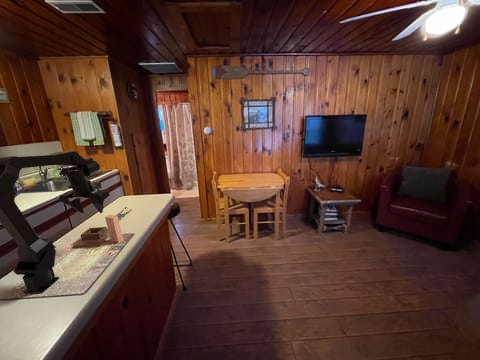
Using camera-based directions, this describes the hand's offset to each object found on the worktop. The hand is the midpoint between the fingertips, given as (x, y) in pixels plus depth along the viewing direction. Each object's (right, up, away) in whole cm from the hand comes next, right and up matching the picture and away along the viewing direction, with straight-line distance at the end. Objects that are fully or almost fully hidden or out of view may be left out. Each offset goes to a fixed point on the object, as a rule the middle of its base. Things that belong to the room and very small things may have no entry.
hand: (92, 212), depth 89 cm
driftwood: (-6, -7, +33) cm, 34 cm away
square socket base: (-4, -14, +7) cm, 16 cm away
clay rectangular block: (+8, -14, +5) cm, 17 cm away
